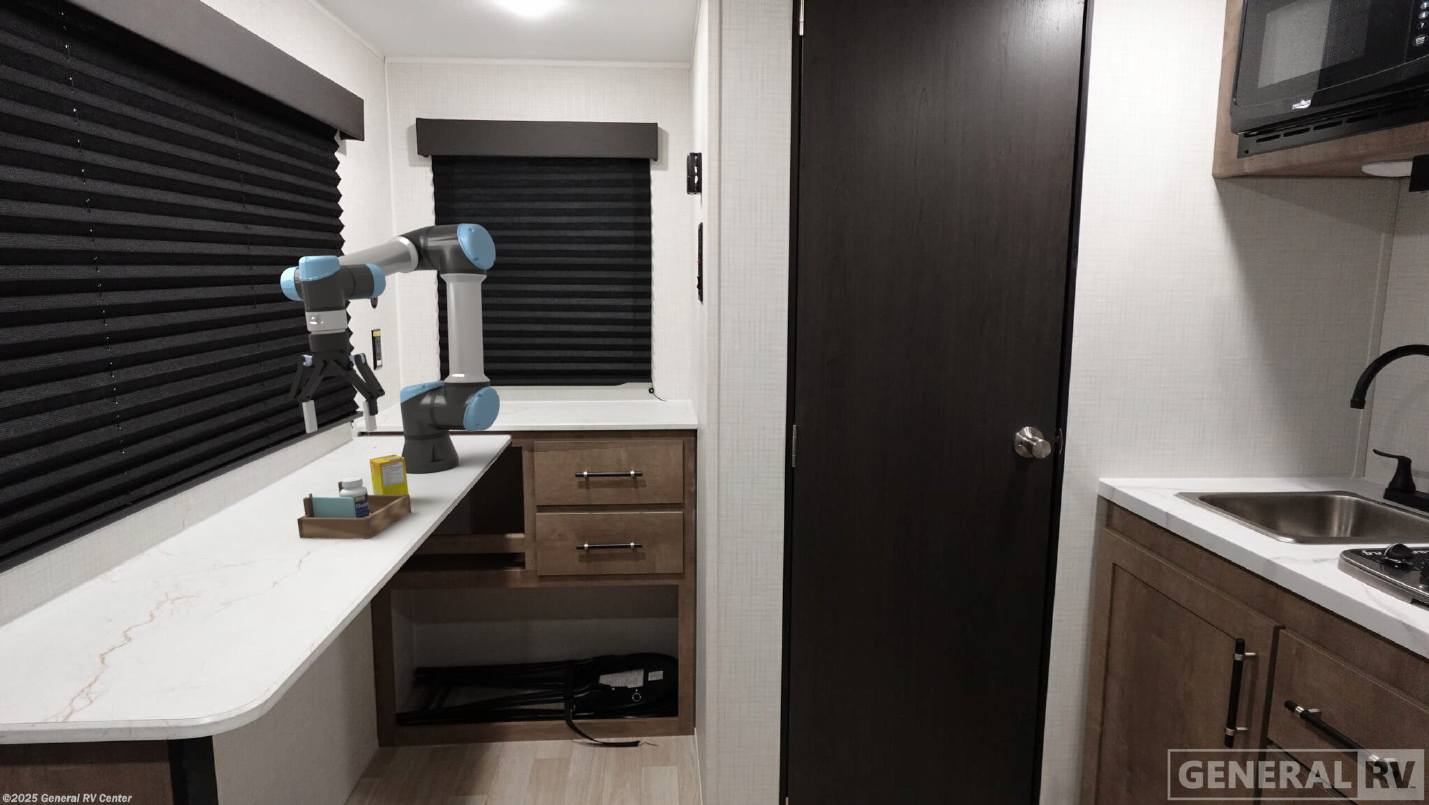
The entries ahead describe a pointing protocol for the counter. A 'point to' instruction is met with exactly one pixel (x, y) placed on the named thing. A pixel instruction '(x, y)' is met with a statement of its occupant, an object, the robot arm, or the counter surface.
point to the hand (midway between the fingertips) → (341, 431)
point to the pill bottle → (356, 495)
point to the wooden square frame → (382, 516)
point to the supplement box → (389, 475)
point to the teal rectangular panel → (333, 507)
